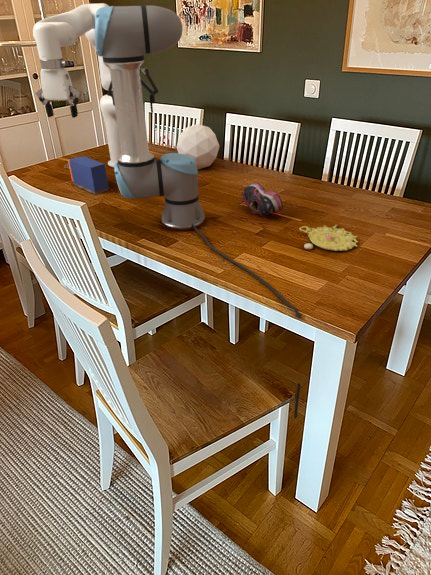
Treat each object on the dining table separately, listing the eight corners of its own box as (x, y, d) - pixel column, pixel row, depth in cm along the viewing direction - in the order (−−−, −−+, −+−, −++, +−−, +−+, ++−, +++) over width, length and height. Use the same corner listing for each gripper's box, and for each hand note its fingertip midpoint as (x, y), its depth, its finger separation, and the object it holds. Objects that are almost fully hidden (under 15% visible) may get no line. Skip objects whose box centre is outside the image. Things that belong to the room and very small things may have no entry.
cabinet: (74, 185, 192) (69, 159, 186) (87, 181, 196) (83, 156, 190) (95, 194, 182) (90, 167, 176) (109, 190, 186) (104, 163, 180)
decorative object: (343, 255, 128) (285, 234, 139) (342, 262, 130) (284, 241, 140) (372, 230, 142) (317, 213, 152) (371, 237, 143) (316, 219, 153)
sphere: (204, 184, 208) (201, 158, 189) (171, 163, 213) (165, 136, 194) (227, 156, 213) (227, 128, 194) (194, 137, 217) (191, 107, 199)
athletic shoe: (254, 181, 170) (227, 189, 167) (283, 176, 151) (253, 185, 147) (260, 210, 173) (234, 218, 170) (290, 209, 154) (261, 219, 150)
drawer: (65, 178, 198) (60, 157, 193) (76, 175, 201) (72, 154, 196) (91, 189, 184) (86, 167, 179) (102, 186, 187) (98, 164, 182)
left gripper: (80, 63, 155) (89, 114, 164) (35, 63, 158) (46, 114, 167) (70, 66, 149) (79, 119, 158) (24, 66, 152) (36, 118, 161)
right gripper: (160, 52, 174) (165, 109, 185) (95, 55, 171) (104, 113, 182) (161, 54, 167) (166, 113, 179) (94, 56, 165) (103, 116, 176)
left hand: (62, 116), depth 163 cm, fingers open, 9 cm apart
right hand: (135, 113), depth 181 cm, fingers open, 13 cm apart
